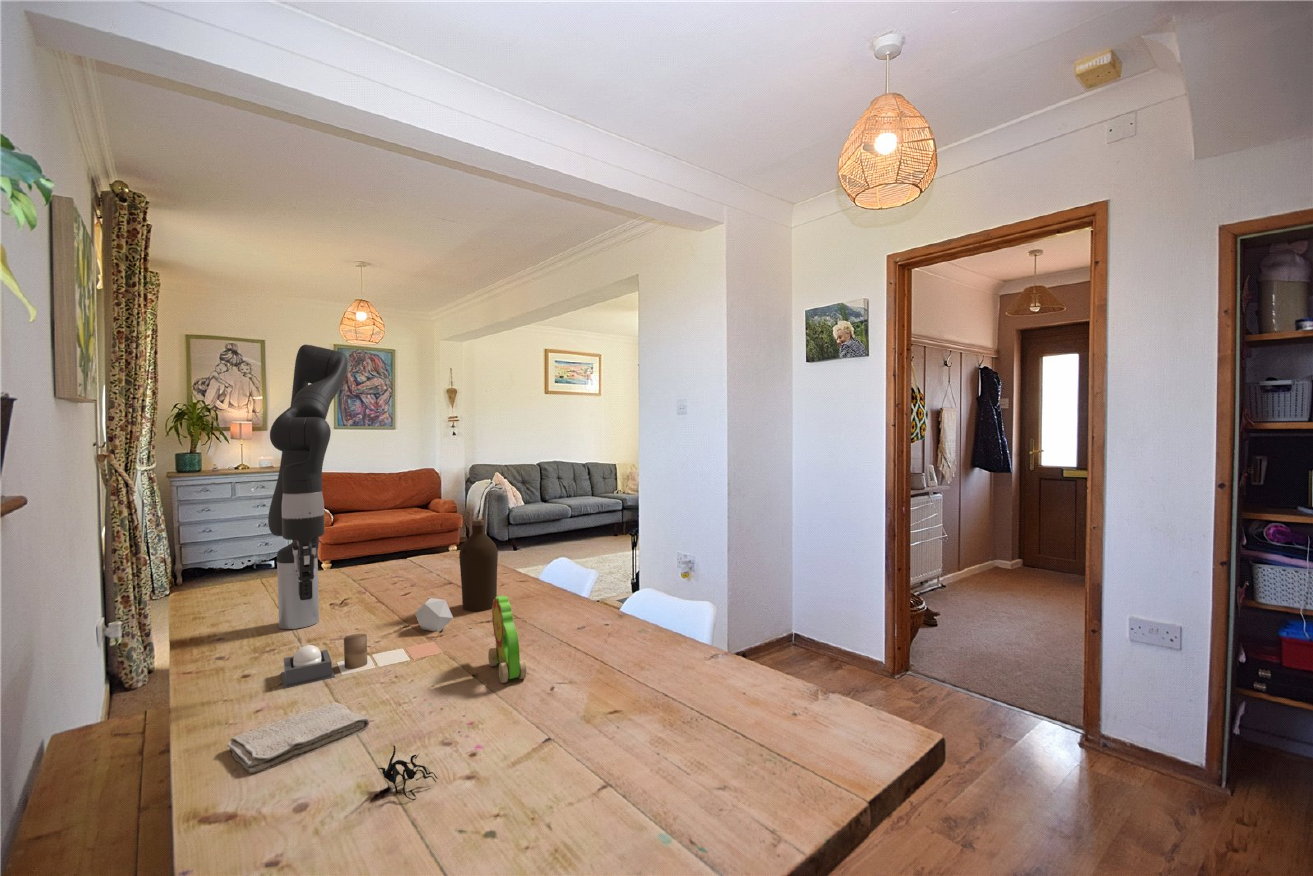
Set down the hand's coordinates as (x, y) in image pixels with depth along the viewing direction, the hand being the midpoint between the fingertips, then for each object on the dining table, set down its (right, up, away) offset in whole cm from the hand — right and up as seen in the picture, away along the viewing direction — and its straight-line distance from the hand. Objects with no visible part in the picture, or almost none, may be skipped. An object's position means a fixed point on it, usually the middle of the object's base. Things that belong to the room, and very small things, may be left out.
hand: (305, 597), depth 123 cm
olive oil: (+22, -16, +49) cm, 56 cm away
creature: (+37, -18, -37) cm, 55 cm away
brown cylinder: (+8, -16, +5) cm, 19 cm away
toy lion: (+40, -17, +4) cm, 44 cm away
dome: (0, -16, 0) cm, 16 cm away
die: (+16, -16, +29) cm, 37 cm away
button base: (0, -17, 0) cm, 17 cm away
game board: (+13, -17, +9) cm, 23 cm away
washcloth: (+13, -18, -24) cm, 33 cm away
